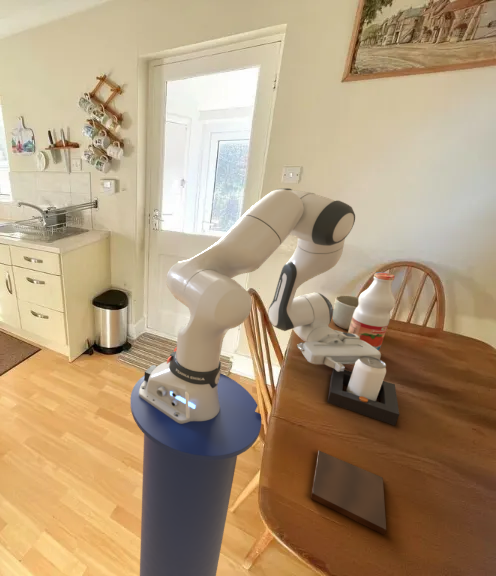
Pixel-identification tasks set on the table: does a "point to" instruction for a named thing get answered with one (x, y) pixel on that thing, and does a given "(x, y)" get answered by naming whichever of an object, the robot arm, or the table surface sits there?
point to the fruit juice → (374, 311)
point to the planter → (344, 310)
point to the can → (367, 377)
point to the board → (349, 491)
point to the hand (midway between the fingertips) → (358, 369)
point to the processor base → (364, 399)
